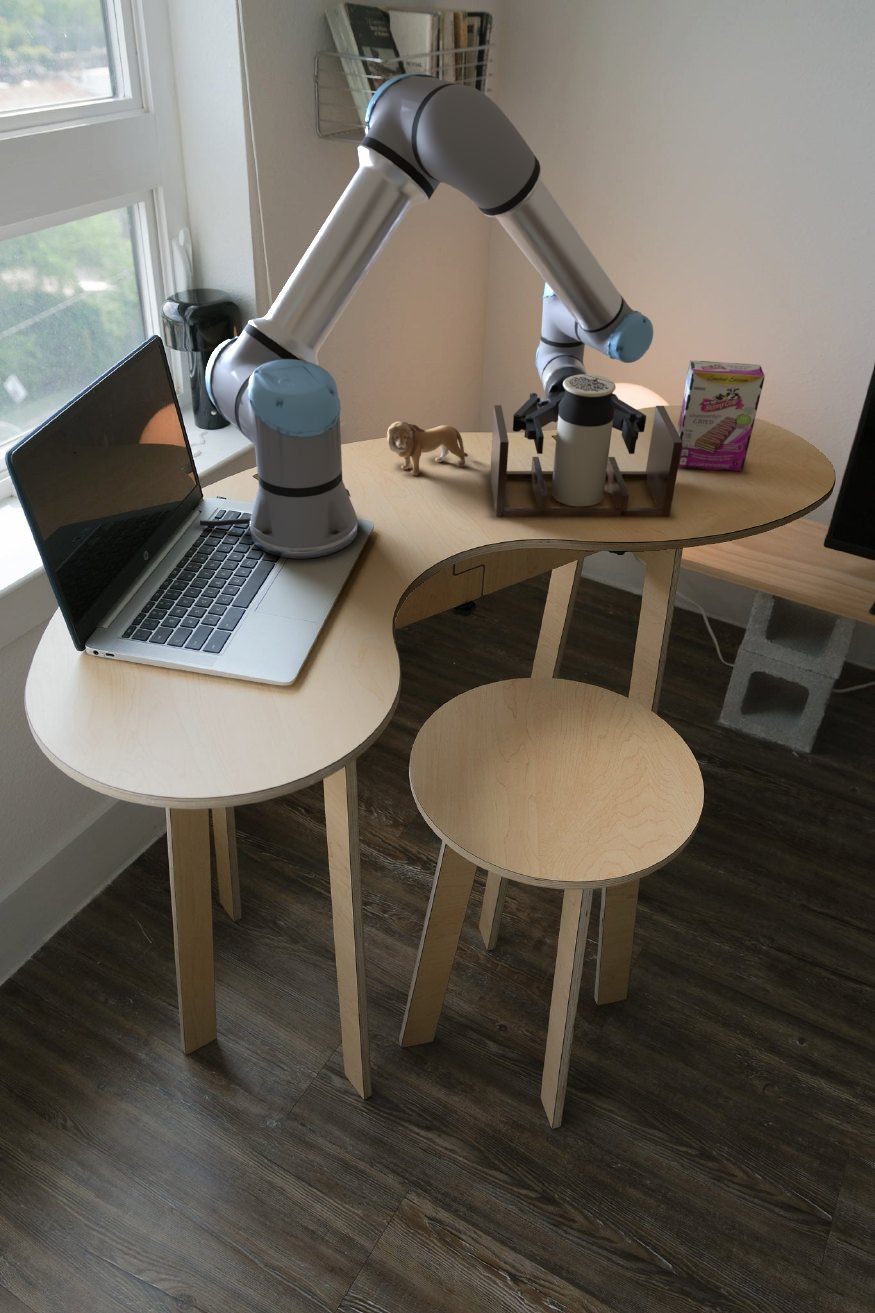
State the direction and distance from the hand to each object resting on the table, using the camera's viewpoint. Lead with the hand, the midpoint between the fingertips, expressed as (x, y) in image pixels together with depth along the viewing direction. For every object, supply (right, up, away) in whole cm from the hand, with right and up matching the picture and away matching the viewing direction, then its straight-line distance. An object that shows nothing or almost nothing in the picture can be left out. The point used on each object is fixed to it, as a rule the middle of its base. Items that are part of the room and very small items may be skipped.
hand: (586, 445), depth 146 cm
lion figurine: (-23, -1, +15) cm, 28 cm away
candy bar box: (+23, +1, +18) cm, 29 cm away
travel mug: (0, -6, +9) cm, 11 cm away
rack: (0, -6, +9) cm, 11 cm away
